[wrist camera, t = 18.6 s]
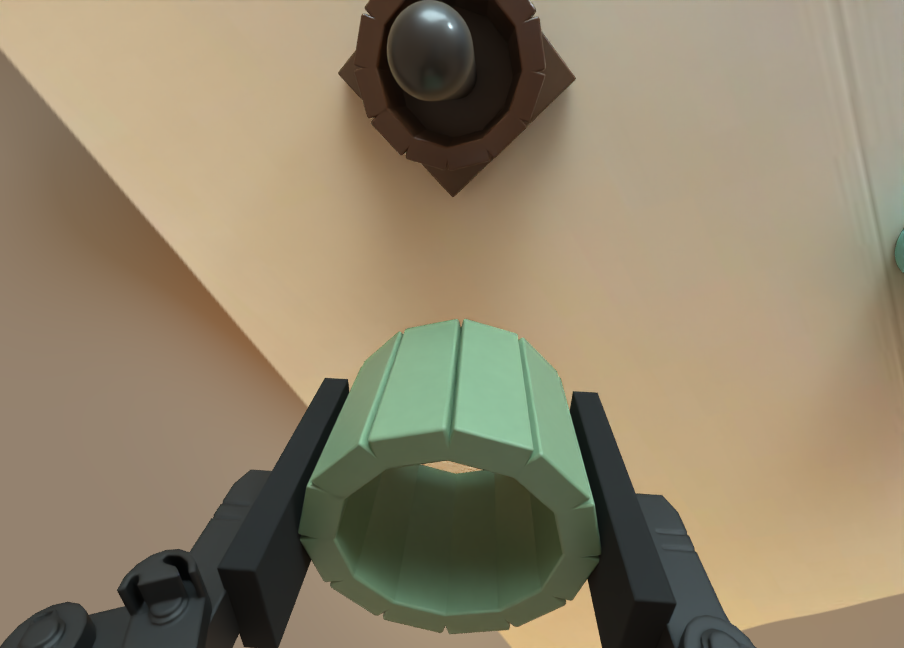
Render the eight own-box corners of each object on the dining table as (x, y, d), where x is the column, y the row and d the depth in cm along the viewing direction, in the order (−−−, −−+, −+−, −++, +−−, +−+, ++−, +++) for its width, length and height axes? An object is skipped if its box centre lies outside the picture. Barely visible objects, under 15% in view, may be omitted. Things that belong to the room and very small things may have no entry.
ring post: (570, 79, 22) (698, 54, 9) (454, 192, 25) (426, 295, 12) (460, -69, 20) (423, -380, 7) (345, 74, 23) (166, 44, 10)
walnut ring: (561, 78, 21) (583, 72, 16) (453, 184, 23) (446, 204, 19) (458, -59, 19) (451, -108, 14) (351, 73, 21) (317, 66, 17)
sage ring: (607, 422, 15) (661, 563, 10) (454, 516, 17) (444, 662, 13) (462, 274, 13) (451, 370, 8) (313, 405, 15) (242, 532, 11)
